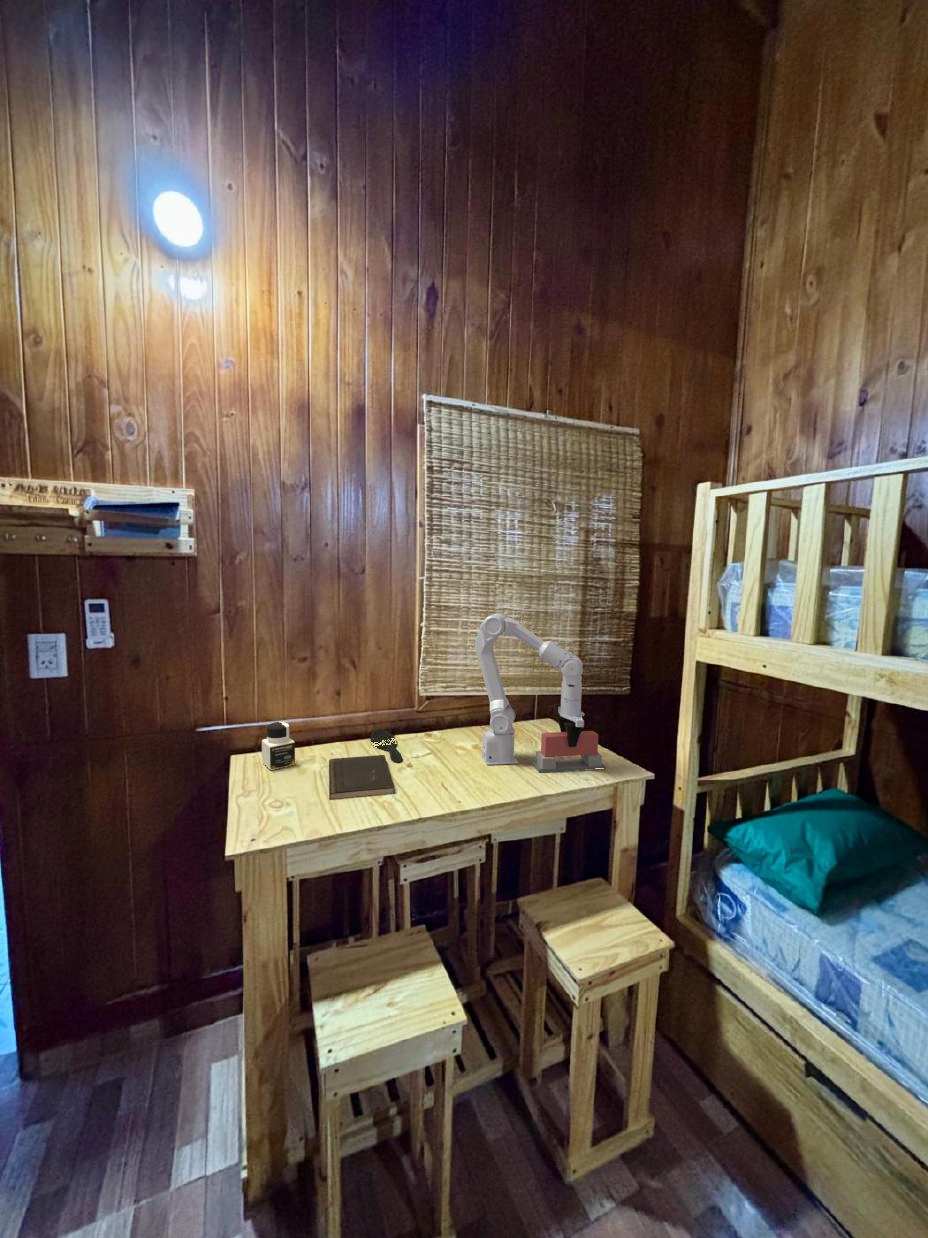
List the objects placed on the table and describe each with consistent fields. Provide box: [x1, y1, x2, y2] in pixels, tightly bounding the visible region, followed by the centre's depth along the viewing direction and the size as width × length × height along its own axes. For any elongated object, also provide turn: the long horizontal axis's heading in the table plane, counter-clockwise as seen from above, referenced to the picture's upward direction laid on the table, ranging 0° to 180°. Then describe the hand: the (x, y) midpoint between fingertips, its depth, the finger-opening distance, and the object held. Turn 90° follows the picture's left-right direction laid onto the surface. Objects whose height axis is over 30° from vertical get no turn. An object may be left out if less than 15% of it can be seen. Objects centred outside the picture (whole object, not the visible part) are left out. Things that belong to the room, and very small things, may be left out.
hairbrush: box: [370, 726, 403, 764], centre depth 161 cm, size 8×4×25 cm
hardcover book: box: [328, 754, 395, 800], centre depth 139 cm, size 16×23×2 cm
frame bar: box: [540, 730, 599, 758], centre depth 149 cm, size 16×4×6 cm, turn 100°
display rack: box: [531, 750, 606, 773], centre depth 149 cm, size 20×6×4 cm, turn 100°
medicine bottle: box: [261, 721, 296, 771], centre depth 147 cm, size 7×7×12 cm
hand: (569, 744), depth 149 cm, fingers open, 4 cm apart
